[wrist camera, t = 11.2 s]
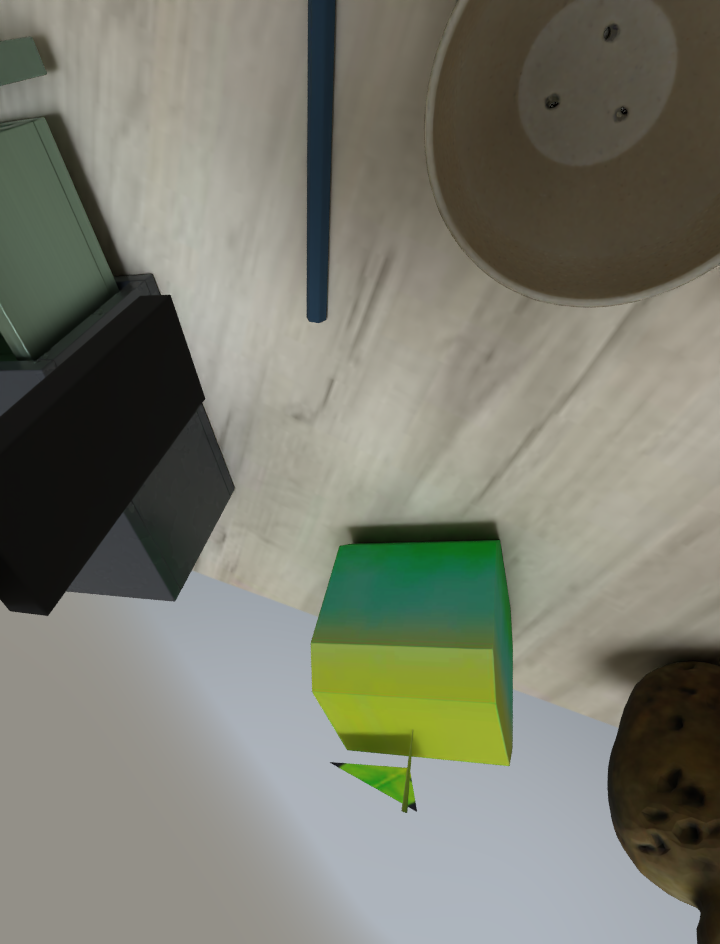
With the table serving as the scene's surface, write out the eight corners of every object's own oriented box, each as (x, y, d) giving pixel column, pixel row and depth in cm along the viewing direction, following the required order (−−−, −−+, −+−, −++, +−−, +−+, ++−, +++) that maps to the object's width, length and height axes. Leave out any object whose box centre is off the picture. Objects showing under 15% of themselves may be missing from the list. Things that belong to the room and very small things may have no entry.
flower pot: (821, -156, 15) (979, -214, 10) (703, 227, 22) (762, 310, 17) (449, -104, 17) (420, -132, 12) (444, 231, 24) (424, 306, 19)
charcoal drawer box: (-50, 286, 31) (-202, 374, 24) (152, 273, 28) (40, 370, 21) (73, 482, 40) (-12, 584, 34) (235, 488, 37) (175, 602, 31)
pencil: (309, 312, 28) (312, -128, 18) (328, 315, 28) (342, -125, 18) (304, 320, 27) (304, -131, 17) (323, 323, 27) (336, -129, 17)
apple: (345, 524, 38) (277, 755, 27) (496, 519, 34) (489, 777, 24) (383, 620, 44) (340, 836, 33) (512, 623, 41) (512, 862, 30)
